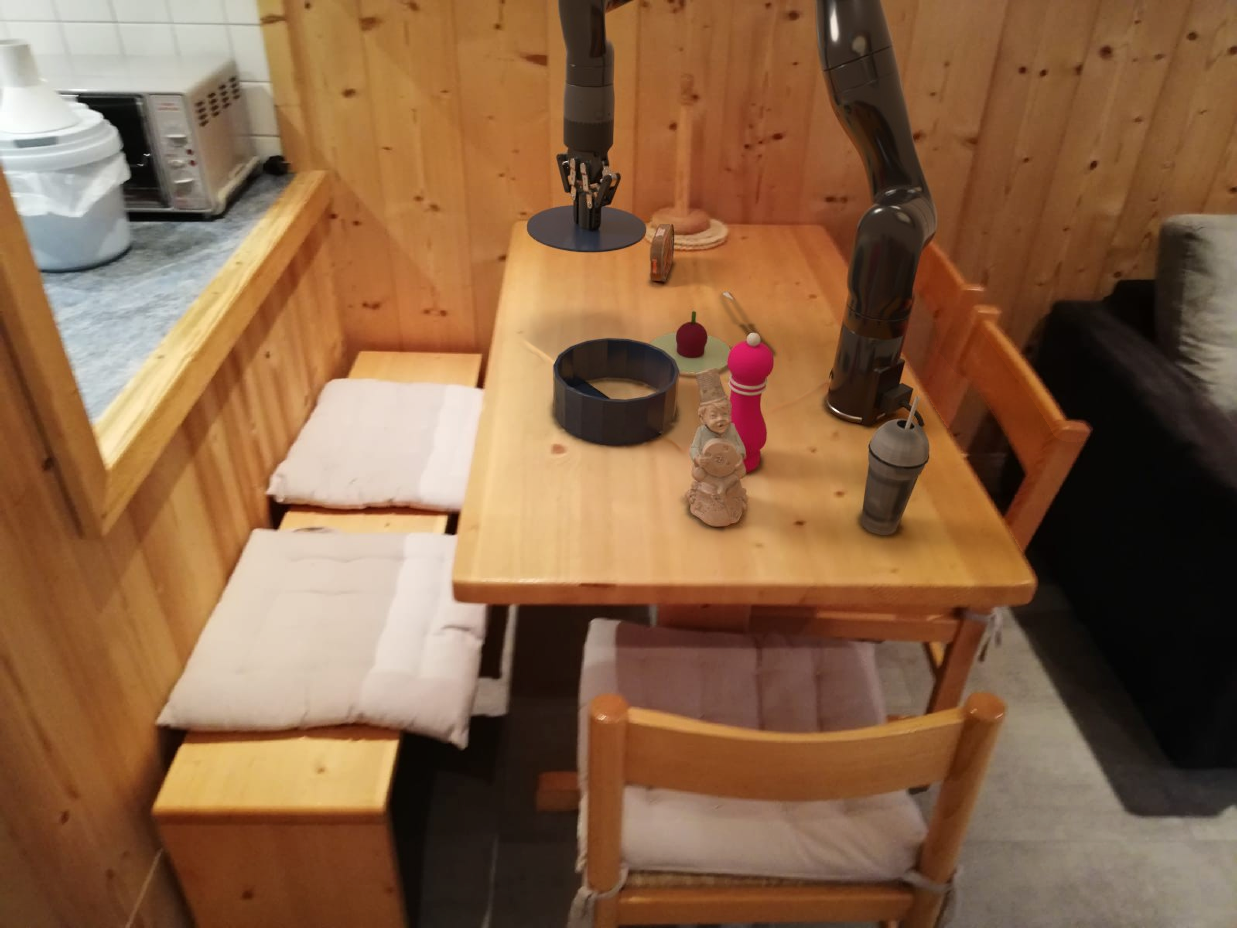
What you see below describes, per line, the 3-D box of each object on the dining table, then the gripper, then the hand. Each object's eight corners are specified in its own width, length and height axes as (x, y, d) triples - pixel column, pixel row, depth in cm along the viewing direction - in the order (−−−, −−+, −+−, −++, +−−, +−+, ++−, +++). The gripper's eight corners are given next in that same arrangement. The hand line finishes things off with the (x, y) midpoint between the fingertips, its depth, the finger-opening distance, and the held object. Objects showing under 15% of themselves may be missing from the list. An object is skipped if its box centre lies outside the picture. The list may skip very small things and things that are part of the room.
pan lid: (670, 238, 144) (673, 201, 140) (574, 266, 134) (575, 227, 130) (596, 202, 156) (597, 167, 152) (503, 225, 146) (502, 189, 142)
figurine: (679, 488, 122) (691, 357, 110) (741, 487, 123) (760, 357, 111) (687, 530, 115) (702, 396, 103) (753, 529, 116) (775, 395, 104)
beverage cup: (899, 506, 121) (935, 376, 109) (915, 542, 115) (955, 409, 103) (844, 505, 120) (875, 375, 109) (858, 542, 114) (892, 408, 103)
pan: (700, 418, 136) (705, 375, 132) (603, 460, 126) (605, 415, 122) (623, 368, 147) (625, 327, 143) (529, 404, 138) (528, 360, 133)
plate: (749, 360, 151) (750, 356, 151) (687, 386, 144) (687, 381, 143) (692, 328, 160) (692, 324, 159) (631, 350, 152) (631, 346, 152)
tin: (662, 289, 172) (665, 247, 167) (646, 287, 173) (648, 245, 168) (674, 258, 184) (677, 218, 179) (659, 256, 185) (661, 216, 180)
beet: (712, 353, 151) (716, 313, 147) (689, 362, 148) (693, 321, 144) (691, 341, 154) (695, 301, 150) (668, 349, 151) (671, 309, 147)
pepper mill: (721, 478, 124) (738, 349, 112) (703, 449, 130) (718, 323, 118) (770, 471, 126) (792, 344, 114) (750, 442, 131) (769, 318, 120)
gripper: (638, 121, 132) (633, 235, 142) (580, 99, 140) (578, 208, 150) (598, 129, 128) (595, 245, 138) (540, 105, 136) (541, 217, 146)
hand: (586, 225), depth 144 cm, fingers closed on pan lid, 2 cm apart
